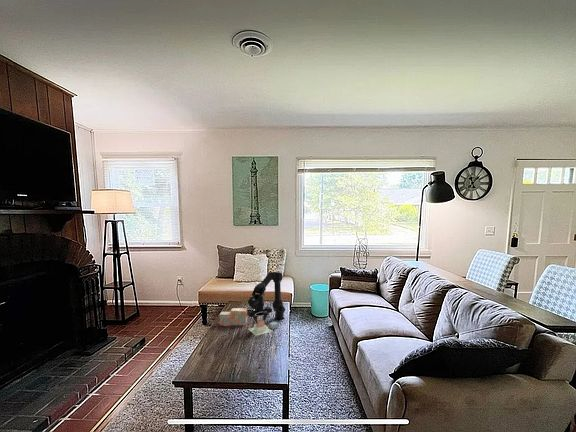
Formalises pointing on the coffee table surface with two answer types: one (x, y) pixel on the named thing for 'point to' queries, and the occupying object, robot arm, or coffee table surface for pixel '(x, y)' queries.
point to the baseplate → (259, 332)
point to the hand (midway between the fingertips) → (260, 322)
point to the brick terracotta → (260, 322)
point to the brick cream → (259, 328)
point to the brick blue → (273, 325)
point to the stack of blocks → (234, 317)
